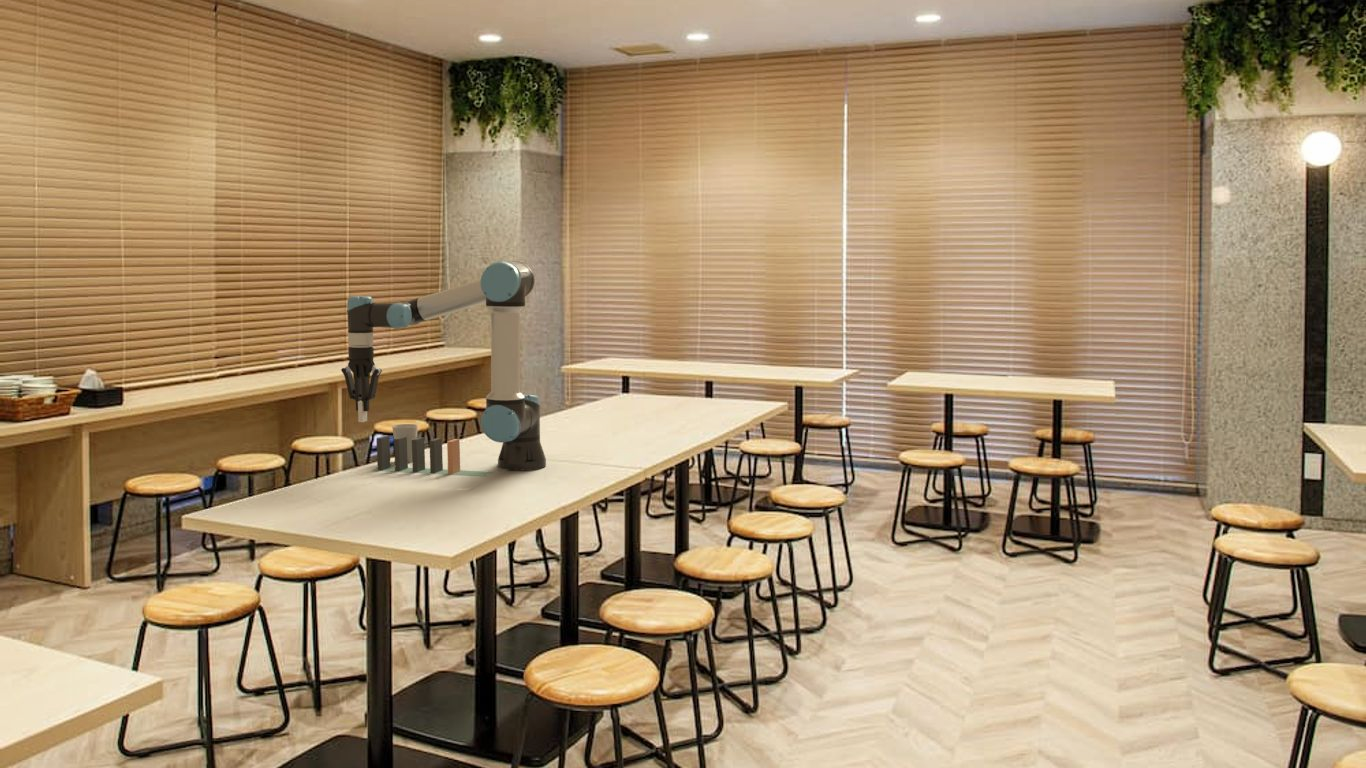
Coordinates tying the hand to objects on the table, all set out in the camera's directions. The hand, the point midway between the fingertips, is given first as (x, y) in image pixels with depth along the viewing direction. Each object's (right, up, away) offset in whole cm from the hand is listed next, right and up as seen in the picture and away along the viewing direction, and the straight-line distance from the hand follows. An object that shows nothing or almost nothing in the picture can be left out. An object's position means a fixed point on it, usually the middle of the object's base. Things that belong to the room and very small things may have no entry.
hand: (362, 421), depth 337 cm
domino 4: (+24, -15, -4) cm, 29 cm away
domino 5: (+30, -15, -6) cm, 34 cm away
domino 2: (+12, -15, -1) cm, 19 cm away
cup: (+10, -14, +13) cm, 21 cm away
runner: (+23, -16, -4) cm, 28 cm away
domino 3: (+18, -15, -3) cm, 24 cm away
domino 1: (+7, -15, 0) cm, 16 cm away
